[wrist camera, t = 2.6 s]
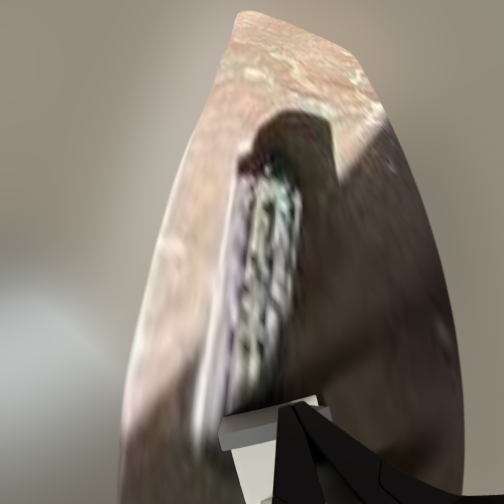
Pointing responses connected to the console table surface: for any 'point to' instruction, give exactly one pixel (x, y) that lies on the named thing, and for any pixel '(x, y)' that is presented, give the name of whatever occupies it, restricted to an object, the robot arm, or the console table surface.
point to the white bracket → (257, 447)
